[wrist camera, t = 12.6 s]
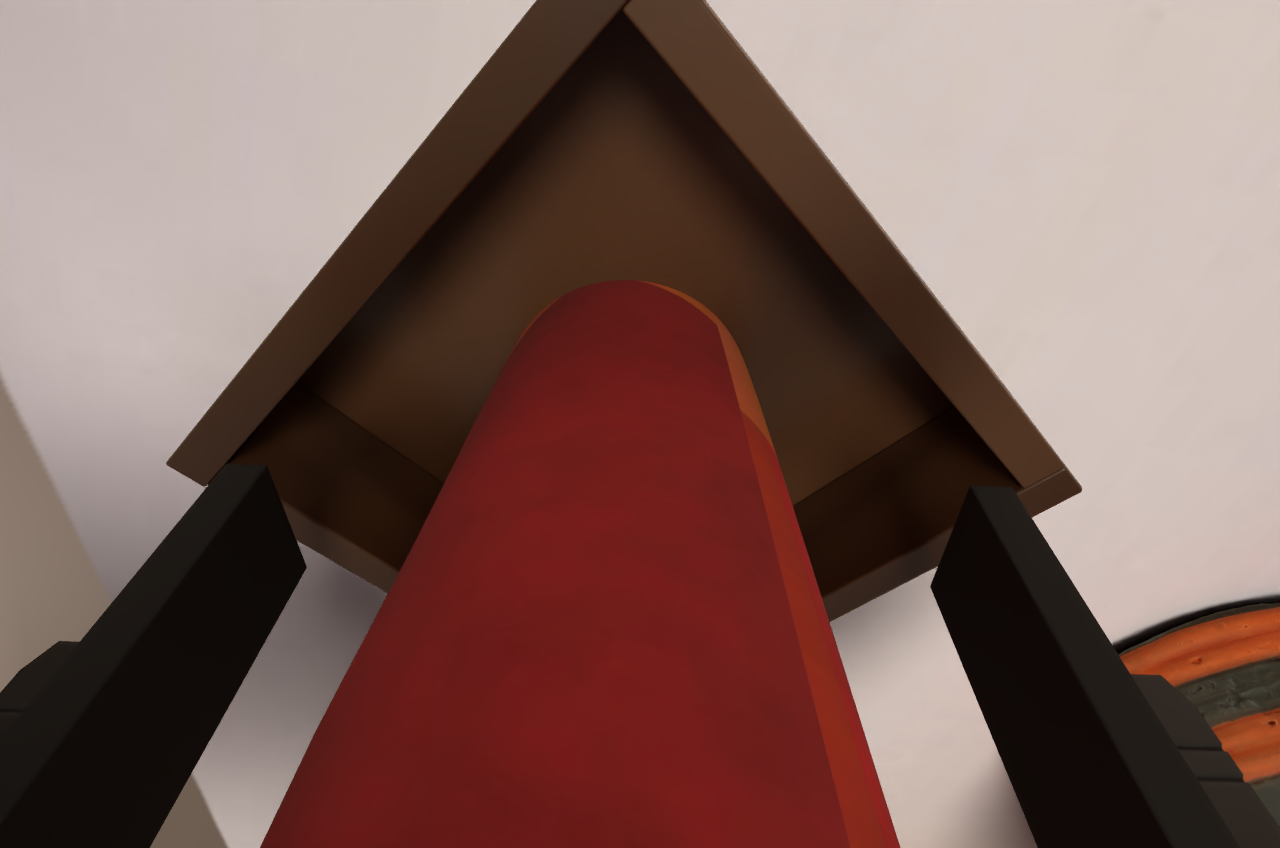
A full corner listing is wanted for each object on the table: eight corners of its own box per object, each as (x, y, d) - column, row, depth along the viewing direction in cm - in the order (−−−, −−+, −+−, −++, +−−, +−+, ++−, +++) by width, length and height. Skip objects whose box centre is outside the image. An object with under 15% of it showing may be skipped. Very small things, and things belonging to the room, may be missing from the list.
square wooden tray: (257, 366, 18) (163, 464, 15) (632, -94, 12) (620, -107, 9) (626, 618, 23) (621, 731, 20) (1005, 386, 18) (1085, 492, 14)
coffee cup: (402, 393, 18) (-192, 1442, 5) (612, 147, 14) (246, 1703, 2) (641, 552, 21) (614, 1437, 8) (864, 385, 17) (1377, 1525, 5)
